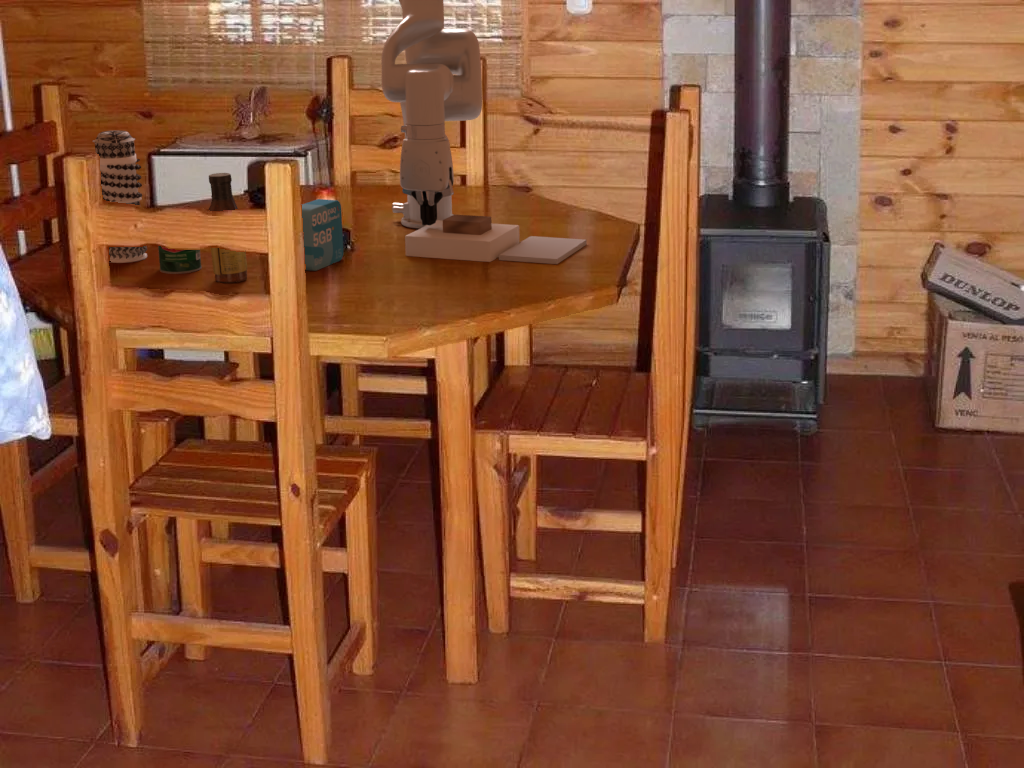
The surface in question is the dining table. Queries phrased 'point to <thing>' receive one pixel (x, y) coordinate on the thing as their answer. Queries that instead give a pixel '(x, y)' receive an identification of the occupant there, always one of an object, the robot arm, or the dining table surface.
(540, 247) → the mat
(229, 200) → the sauce bottle
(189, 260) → the canned tomato
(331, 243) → the data package
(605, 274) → the dining table surface
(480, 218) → the tile
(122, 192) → the decorative candle
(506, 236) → the deck
